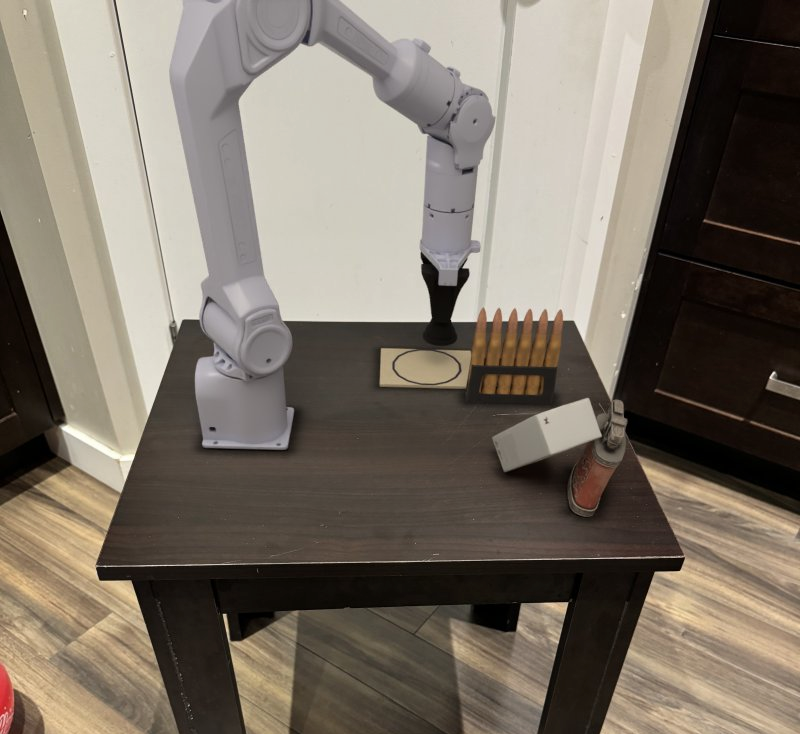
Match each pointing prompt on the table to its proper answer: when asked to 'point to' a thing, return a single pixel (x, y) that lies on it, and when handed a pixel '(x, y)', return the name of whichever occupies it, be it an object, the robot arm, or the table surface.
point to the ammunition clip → (514, 361)
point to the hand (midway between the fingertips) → (440, 316)
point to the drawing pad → (424, 368)
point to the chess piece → (440, 333)
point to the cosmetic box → (547, 434)
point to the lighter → (598, 461)
